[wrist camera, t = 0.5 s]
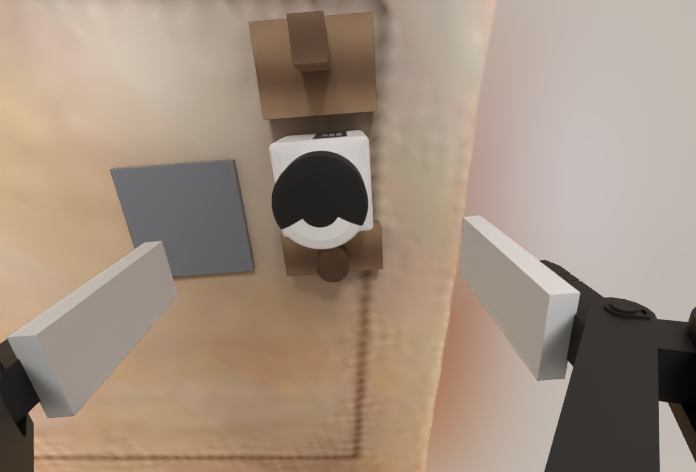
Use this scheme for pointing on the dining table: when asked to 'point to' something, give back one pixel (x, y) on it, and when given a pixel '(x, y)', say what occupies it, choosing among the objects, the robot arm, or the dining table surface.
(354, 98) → the pair of wooden stands
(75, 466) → the dining table surface
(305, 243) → the container
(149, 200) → the plate
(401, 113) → the dining table surface
